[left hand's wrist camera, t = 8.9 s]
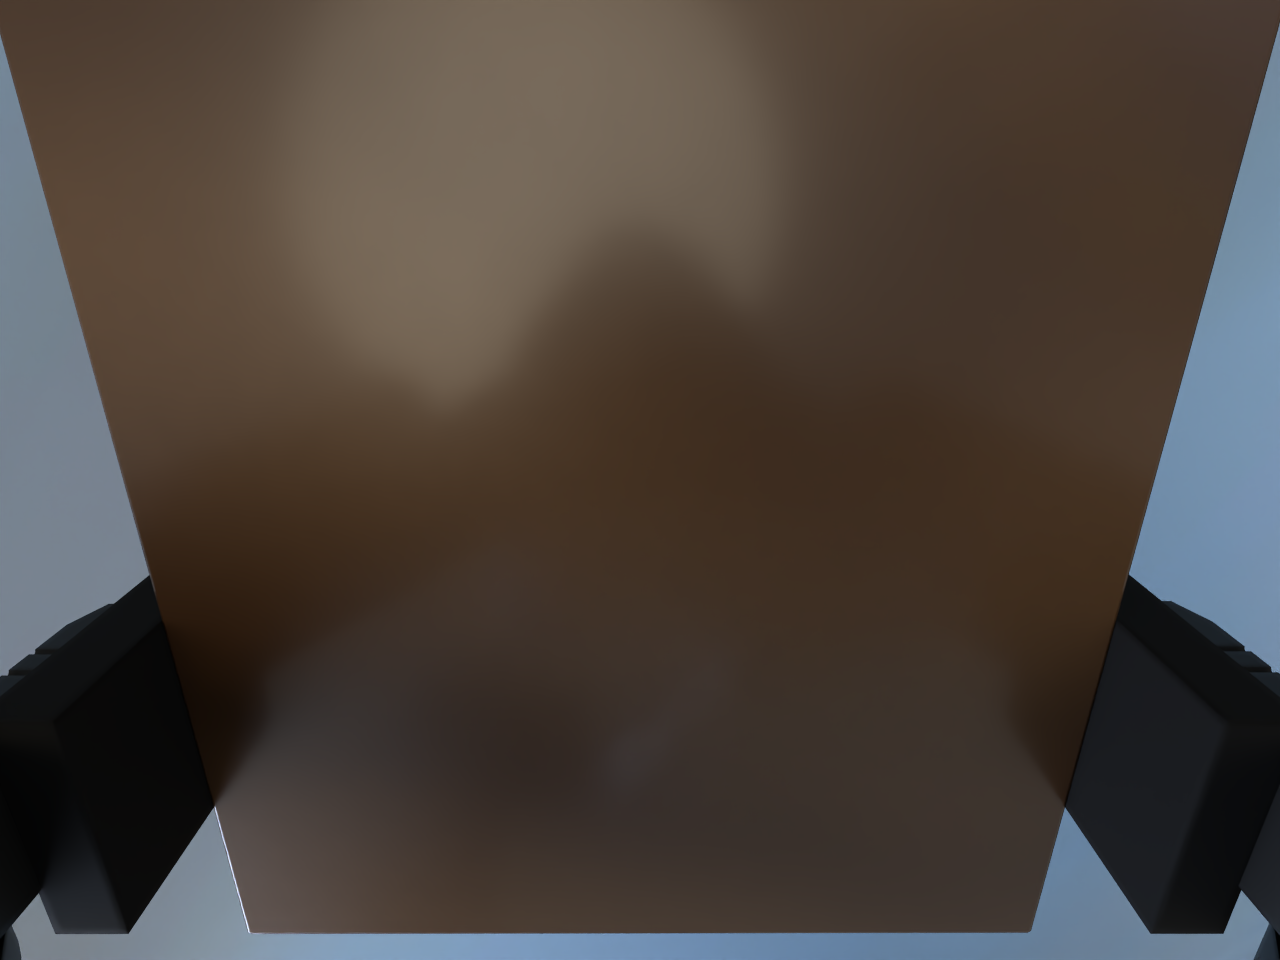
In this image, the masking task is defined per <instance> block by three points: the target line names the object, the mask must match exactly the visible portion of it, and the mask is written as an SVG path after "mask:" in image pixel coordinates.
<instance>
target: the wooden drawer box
mask: <svg viewBox="0 0 1280 960" xmlns="http://www.w3.org/2000/svg"><path fill="white" fill-rule="evenodd" d="M1279 24H1280V0H0V35H1V38H2V42H3V46H4V49H5V53H6V57H7V60H8V64H9V67H10V71H11V75H12V78H13V82H14V86H15V89H16V93H17V96H18V100H19V104H20V107H21V111H22V114H23V118H24V122H25V125H26V129H27V133H28V136H29V140H30V143H31V147H32V151H33V154H34V158H35V162H36V165H37V169H38V172H39V176H40V180H41V183H42V187H43V191H44V194H45V198H46V201H47V205H48V209H49V212H50V216H51V220H52V223H53V227H54V230H55V234H56V238H57V241H58V245H59V249H60V252H61V256H62V259H63V263H64V267H65V270H66V274H67V278H68V281H69V285H70V288H71V292H72V296H73V299H74V303H75V307H76V310H77V314H78V317H79V321H80V325H81V328H82V332H83V336H84V339H85V343H86V346H87V350H88V354H89V357H90V361H91V365H92V368H93V372H94V375H95V379H96V383H97V386H98V390H99V393H100V397H101V401H102V404H103V408H104V412H105V415H106V419H107V422H108V426H109V430H110V433H111V437H112V441H113V444H114V448H115V451H116V455H117V459H118V462H119V466H120V470H121V473H122V477H123V480H124V484H125V488H126V491H127V495H128V499H129V502H130V506H131V509H132V513H133V517H134V520H135V524H136V528H137V531H138V535H139V538H140V542H141V546H142V549H143V553H144V557H145V560H146V564H147V567H148V571H149V575H150V578H151V582H152V586H153V589H154V593H155V596H156V600H157V604H158V607H159V611H160V615H161V618H162V622H163V625H164V629H165V633H166V636H167V640H168V643H169V647H170V651H171V654H172V658H173V662H174V665H175V669H176V672H177V676H178V680H179V683H180V687H181V691H182V694H183V698H184V701H185V705H186V709H187V712H188V716H189V720H190V723H191V727H192V730H193V734H194V738H195V741H196V745H197V749H198V752H199V756H200V759H201V763H202V767H203V770H204V774H205V778H206V781H207V785H208V788H209V792H210V796H211V799H212V803H213V807H214V810H215V814H216V817H217V821H218V825H219V828H220V832H221V836H222V839H223V843H224V846H225V850H226V854H227V857H228V861H229V865H230V868H231V872H232V875H233V879H234V883H235V886H236V890H237V893H238V897H239V901H240V904H241V908H242V912H243V915H244V919H245V922H246V926H247V930H248V932H249V933H251V934H482V933H1028V932H1030V931H1031V929H1032V925H1033V921H1034V918H1035V914H1036V910H1037V907H1038V903H1039V899H1040V896H1041V892H1042V889H1043V885H1044V881H1045V878H1046V874H1047V870H1048V867H1049V863H1050V859H1051V856H1052V852H1053V848H1054V845H1055V841H1056V837H1057V834H1058V830H1059V826H1060V823H1061V819H1062V816H1063V812H1064V808H1065V805H1066V801H1067V797H1068V794H1069V790H1070V786H1071V783H1072V779H1073V775H1074V772H1075V768H1076V764H1077V761H1078V757H1079V753H1080V750H1081V746H1082V743H1083V739H1084V735H1085V732H1086V728H1087V724H1088V721H1089V717H1090V713H1091V710H1092V706H1093V702H1094V699H1095V695H1096V691H1097V688H1098V684H1099V680H1100V677H1101V673H1102V670H1103V666H1104V662H1105V659H1106V655H1107V651H1108V648H1109V644H1110V640H1111V637H1112V633H1113V629H1114V626H1115V622H1116V618H1117V615H1118V611H1119V608H1120V604H1121V600H1122V597H1123V593H1124V589H1125V586H1126V582H1127V578H1128V575H1129V571H1130V567H1131V564H1132V560H1133V556H1134V553H1135V549H1136V545H1137V542H1138V538H1139V535H1140V531H1141V527H1142V524H1143V520H1144V516H1145V513H1146V509H1147V505H1148V502H1149V498H1150V494H1151V491H1152V487H1153V483H1154V480H1155V476H1156V472H1157V469H1158V465H1159V462H1160V458H1161V454H1162V451H1163V447H1164V443H1165V440H1166V436H1167V432H1168V429H1169V425H1170V421H1171V418H1172V414H1173V410H1174V407H1175V403H1176V400H1177V396H1178V392H1179V389H1180V385H1181V381H1182V378H1183V374H1184V370H1185V367H1186V363H1187V359H1188V356H1189V352H1190V348H1191V345H1192V341H1193V337H1194V334H1195V330H1196V327H1197V323H1198V319H1199V316H1200V312H1201V308H1202V305H1203V301H1204V297H1205V294H1206V290H1207V286H1208V283H1209V279H1210V275H1211V272H1212V268H1213V264H1214V261H1215V257H1216V254H1217V250H1218V246H1219V243H1220V239H1221V235H1222V232H1223V228H1224V224H1225V221H1226V217H1227V213H1228V210H1229V206H1230V202H1231V199H1232V195H1233V191H1234V188H1235V184H1236V181H1237V177H1238V173H1239V170H1240V166H1241V162H1242V159H1243V155H1244V151H1245V148H1246V144H1247V140H1248V137H1249V133H1250V129H1251V126H1252V122H1253V119H1254V115H1255V111H1256V108H1257V104H1258V100H1259V97H1260V93H1261V89H1262V86H1263V82H1264V78H1265V75H1266V71H1267V67H1268V64H1269V60H1270V56H1271V53H1272V49H1273V46H1274V42H1275V38H1276V35H1277V31H1278V27H1279Z"/></svg>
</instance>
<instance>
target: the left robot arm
mask: <svg viewBox="0 0 1280 960" xmlns="http://www.w3.org/2000/svg"><path fill="white" fill-rule="evenodd" d="M1244 647H1245V646H1243V645H1242V644H1241V643H1239V642H1238V641H1237V640H1235V639H1234V638H1233V637H1232V636H1230V635H1229V634H1228V633H1226V632H1225V631H1224V630H1223V629H1221V628H1220V627H1219V626H1217V625H1216V624H1215V623H1214V622H1212V621H1210V620H1208V619H1206V618H1204V617H1202V616H1200V615H1198V614H1196V613H1194V612H1192V611H1190V610H1188V609H1186V608H1184V607H1182V606H1180V605H1178V604H1176V603H1174V602H1172V601H1161V600H1160V599H1158V598H1157V597H1156V596H1155V595H1153V594H1152V593H1151V592H1150V591H1148V590H1147V589H1146V588H1145V587H1144V586H1142V585H1141V584H1140V583H1139V582H1137V581H1136V580H1135V579H1134V578H1132V577H1131V576H1130V575H1128V578H1127V582H1126V586H1125V589H1124V593H1123V597H1122V600H1121V604H1120V608H1119V611H1118V615H1117V618H1116V622H1115V626H1114V629H1113V633H1112V637H1111V640H1110V644H1109V648H1108V651H1107V655H1106V659H1105V662H1104V666H1103V670H1102V673H1101V677H1100V680H1099V684H1098V688H1097V691H1096V695H1095V699H1094V702H1093V706H1092V710H1091V713H1090V717H1089V721H1088V724H1087V728H1086V732H1085V735H1084V739H1083V743H1082V746H1081V750H1080V753H1079V757H1078V761H1077V764H1076V768H1075V772H1074V775H1073V779H1072V783H1071V786H1070V790H1069V794H1068V797H1067V801H1066V805H1065V808H1066V809H1067V811H1068V812H1069V813H1070V815H1071V816H1072V818H1073V819H1074V821H1075V822H1076V824H1077V825H1078V827H1079V828H1080V830H1081V831H1082V833H1083V834H1084V836H1085V837H1086V839H1087V840H1088V842H1089V843H1090V845H1091V846H1092V848H1093V849H1094V850H1095V852H1096V853H1097V855H1098V856H1099V858H1100V859H1101V861H1102V862H1103V864H1104V865H1105V867H1106V868H1107V870H1108V871H1109V873H1110V874H1111V876H1112V877H1113V879H1114V880H1115V882H1116V883H1117V885H1118V886H1119V888H1120V889H1121V890H1122V892H1123V893H1124V895H1125V896H1126V898H1127V899H1128V901H1129V902H1130V904H1131V905H1132V907H1133V908H1134V910H1135V911H1136V913H1137V914H1138V916H1139V917H1140V919H1141V920H1142V922H1143V923H1144V925H1145V926H1146V928H1147V929H1148V930H1149V932H1150V933H1151V934H1223V933H1224V931H1225V929H1226V926H1227V924H1228V921H1229V919H1230V916H1231V914H1232V911H1233V909H1234V907H1235V904H1236V902H1237V899H1238V897H1239V894H1240V892H1241V890H1242V891H1243V892H1244V894H1245V895H1246V896H1247V897H1248V898H1249V899H1250V901H1251V902H1252V903H1253V904H1254V905H1255V907H1256V908H1257V909H1258V910H1259V911H1260V912H1261V914H1262V915H1263V916H1264V917H1265V918H1266V920H1267V921H1268V922H1269V925H1268V928H1267V930H1266V932H1265V935H1264V937H1263V939H1262V941H1261V944H1260V946H1259V948H1258V951H1257V953H1256V955H1255V957H1254V960H1280V674H1279V673H1278V672H1272V671H1271V667H1270V666H1269V665H1268V664H1266V663H1265V662H1264V661H1263V660H1261V659H1260V658H1259V657H1257V656H1256V655H1255V654H1254V653H1252V652H1251V651H1245V649H1244ZM213 808H214V807H213V803H212V799H211V796H210V792H209V788H208V785H207V781H206V778H205V774H204V770H203V767H202V763H201V759H200V756H199V752H198V749H197V745H196V741H195V738H194V734H193V730H192V727H191V723H190V720H189V716H188V712H187V709H186V705H185V701H184V698H183V694H182V691H181V687H180V683H179V680H178V676H177V672H176V669H175V665H174V662H173V658H172V654H171V651H170V647H169V643H168V640H167V636H166V633H165V629H164V625H163V622H162V618H161V615H160V611H159V607H158V604H157V600H156V596H155V593H154V589H153V586H152V582H151V578H150V575H149V576H148V577H147V578H145V579H144V580H143V581H142V582H140V583H139V584H138V585H137V586H135V587H134V588H133V589H132V590H131V591H129V592H128V593H127V594H126V595H124V596H123V597H122V598H121V599H119V600H118V601H117V602H116V603H115V604H108V605H106V606H104V607H102V608H100V609H98V610H96V611H94V612H92V613H90V614H88V615H86V616H84V617H82V618H80V619H78V620H76V621H74V622H72V623H70V624H68V625H66V626H65V627H63V628H62V629H61V630H60V631H58V632H57V633H56V634H55V635H53V636H52V637H51V638H49V639H48V640H47V641H46V642H44V643H43V644H42V645H40V646H39V647H38V648H37V649H35V654H29V655H28V656H26V657H25V658H24V659H23V660H21V661H20V662H19V663H17V664H16V665H15V666H14V667H12V668H11V669H10V670H9V674H8V676H1V677H0V960H21V953H20V948H19V942H18V939H17V937H16V935H15V932H14V930H13V928H12V924H13V923H14V922H15V921H16V919H17V918H18V917H19V916H20V915H21V913H22V912H23V911H24V910H25V909H26V908H27V906H28V905H29V904H30V903H31V902H32V900H33V899H34V898H35V897H36V896H37V894H38V893H39V895H40V897H41V900H42V902H43V905H44V907H45V909H46V912H47V914H48V917H49V919H50V922H51V924H52V927H53V929H54V931H55V934H129V932H130V931H131V929H132V928H133V926H134V925H135V923H136V922H137V920H138V919H139V917H140V916H141V914H142V913H143V911H144V910H145V908H146V907H147V905H148V904H149V903H150V901H151V900H152V898H153V897H154V895H155V894H156V892H157V891H158V889H159V888H160V886H161V885H162V883H163V882H164V880H165V879H166V877H167V876H168V874H169V873H170V871H171V870H172V868H173V867H174V865H175V864H176V863H177V861H178V860H179V858H180V857H181V855H182V854H183V852H184V851H185V849H186V848H187V846H188V845H189V843H190V842H191V840H192V839H193V837H194V836H195V834H196V833H197V831H198V830H199V828H200V827H201V825H202V824H203V823H204V821H205V820H206V818H207V817H208V815H209V814H210V812H211V811H212V809H213Z"/></svg>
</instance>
